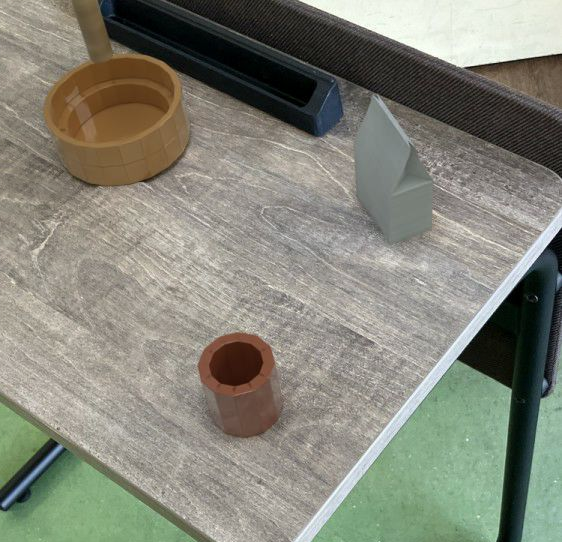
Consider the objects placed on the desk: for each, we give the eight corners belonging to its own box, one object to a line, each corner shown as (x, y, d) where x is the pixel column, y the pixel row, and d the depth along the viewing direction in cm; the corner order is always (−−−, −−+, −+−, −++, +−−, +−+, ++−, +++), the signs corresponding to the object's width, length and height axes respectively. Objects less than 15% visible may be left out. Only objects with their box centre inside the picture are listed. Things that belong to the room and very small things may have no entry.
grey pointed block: (390, 249, 77) (389, 156, 69) (356, 195, 81) (351, 101, 73) (431, 233, 78) (435, 140, 69) (395, 180, 81) (395, 86, 73)
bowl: (38, 179, 86) (20, 137, 82) (91, 90, 92) (77, 47, 88) (163, 198, 83) (151, 155, 79) (209, 105, 89) (199, 61, 85)
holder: (202, 432, 69) (187, 387, 64) (225, 374, 72) (212, 326, 67) (270, 446, 68) (260, 401, 63) (291, 387, 71) (283, 339, 66)
